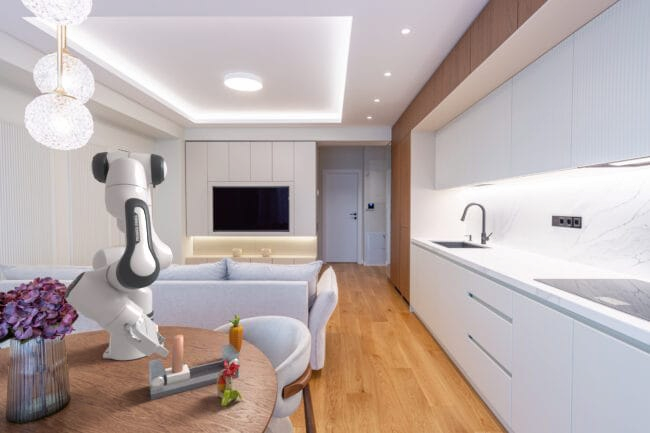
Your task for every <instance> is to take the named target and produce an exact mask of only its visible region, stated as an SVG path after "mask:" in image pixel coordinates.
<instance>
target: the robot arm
mask: <svg viewBox="0 0 650 433" xmlns="http://www.w3.org/2000/svg"><path fill="white" fill-rule="evenodd" d="M90 170H91V173H92V175H93V178H94V179H95V180H96V181H98V182H99V183H101V184H104V202H105V209H106V212H107V213H108V214H110V215H111V216H112V217H114V218H116V226H117V227H116V228H117V229H118V230H119V231H120V232H121V233H124V240H125V241H124V243H125V244H122V245H113V246H110V247H109V246H108V247H104V248H101V249H98V251H97V252H96V253H95V254H94V255H93V256H94V257H93V258H92V264H91V265H92V269H93V270H89V271H83V272H81V273H80V274H79V275H77V276H76V277H75V279H73V281H72V282H71V283H70V285H69V286H68V287H67V289H66V291H65V293H64V299H65V301H66V302H67V303H68V304H69V305H70V306H71V307H72V308H73V309H75V310H76V311H77V312H78V313H79V314H81V315H82V316H83V317H85V318H87V319H89V320H93V321H95V322H96V323H97V324H98V325H99V326H100V328H102V329H103V330H105V331H106V332H108V333H109V335H108V336H109V337H108V338H109V343H108V347H107V348H106V349H105V351H104V352H103V354H102V359H112V360H115V361H131V360H136V359H141V358H144V357H146V356H147V357H151V356H152V355H153V354H157V355H159V356H161V357H163V358H166V357H167V356H168V355H169V354H170V350H169V349H168V348H167V347H165V345H164V344H165V342H166V338H165V337H164V336H162V335H161V333H160V332H159V326H158V325H157V324H156V323H155V322H154V319H155V314H154V312H155V311H154V310H153V290H152V289H151V288H150V287H149V286H151V285H152V284H153V283H155V282H156V281H157V279H158V278H159V275H160V272H161V271H164V270H167V269H168V268H169V267H170V266H171V264H172V262H173V259H174V255H173V252H172V249H171V248H170V247H169V245H167V244H166V243H164V242H163V241H162V240H161V239H160V238H159V236H158V235H157V233H156V231H155V226H154V220H153V206H152V196H151V195H152V194H151V189H150V185H152V187H153V188H152V189H155V188H156V186H158V185H161V184H162V183H163V182H164V181H165V179H166V177H167V174H168V165H167V163H166V161H165V158H164V157H163V156H161V155H159V154H157V153H155V154H154V153H151V154H150V153H143V152H135V151H129V152H123V151H121V152H108V151H102V152H97V153H96V154H94V155H93V157H92V160H91V162H90Z"/></svg>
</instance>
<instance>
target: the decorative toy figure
mask: <svg viewBox="0 0 650 433" xmlns="http://www.w3.org/2000/svg"><path fill="white" fill-rule="evenodd" d="M223 364H224V366H225V367H226V369H224V370H221V371H220V372H219V374H218V378H217V383H216V388H217V397H219V398H221V406H224V407H225V408H226V407H227V405H228V403H229V401H230V400H237V399H238V398H239V399H240V400H242V399H243V397H242V394H241V392H240V391H239V390H238V389H233V379H232V376H236V374H235V371H236V370H237V369H238V368H240V367H241V364H239V365H237V364H235V362H232V363H231V364H230V366H228V364H227V362H226V360H225V361H224V363H223Z"/></svg>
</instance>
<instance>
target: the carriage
mask: <svg viewBox="0 0 650 433" xmlns="http://www.w3.org/2000/svg"><path fill="white" fill-rule="evenodd" d="M171 339H172V340H171V342H172V344H171V367H168V368H164V374H165V381H166V385H169V384H173V383H177V382H181V381H185V380H189V379H190V371H189V368H190V367H188V364H184V335H183V334H175V335H173V336H172V337H171Z"/></svg>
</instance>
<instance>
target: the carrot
mask: <svg viewBox="0 0 650 433" xmlns="http://www.w3.org/2000/svg"><path fill="white" fill-rule="evenodd" d="M234 318H235V319H234V320H232V319H229V320H228V321H229V322H230V323H231V324H232V325H231V326H230V327H229V330H228V342H229V344H232V345H233V346H234V348H235V349H236V350H237V351H238V353H239V354H240V352H241V349H242V344H243V335H244V326H243V325H240V324H239V323H240V321H241V317H240V316H238V314H234ZM229 344H228V345H229Z"/></svg>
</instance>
